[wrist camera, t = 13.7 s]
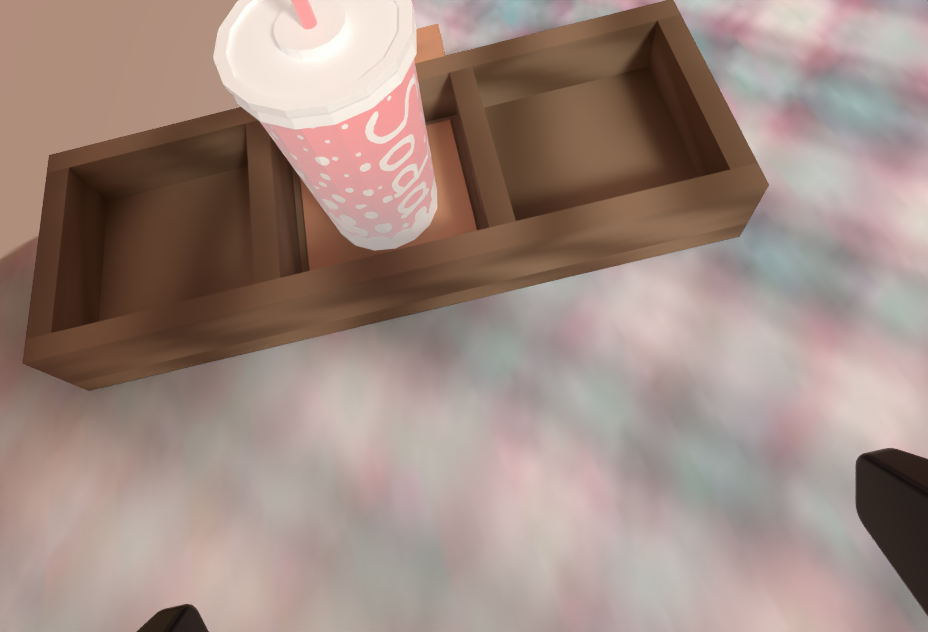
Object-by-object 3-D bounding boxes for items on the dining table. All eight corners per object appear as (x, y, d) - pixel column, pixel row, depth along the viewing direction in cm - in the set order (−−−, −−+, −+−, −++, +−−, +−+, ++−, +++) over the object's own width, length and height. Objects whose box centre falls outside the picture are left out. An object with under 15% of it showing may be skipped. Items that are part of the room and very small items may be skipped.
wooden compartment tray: (652, 51, 29) (670, -36, 25) (740, 236, 24) (779, 167, 20) (103, 188, 30) (33, 126, 26) (88, 390, 25) (0, 354, 21)
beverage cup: (363, 294, 24) (160, -27, 11) (292, 198, 26) (60, -155, 14) (484, 210, 25) (422, -174, 12) (405, 125, 27) (284, -269, 15)
